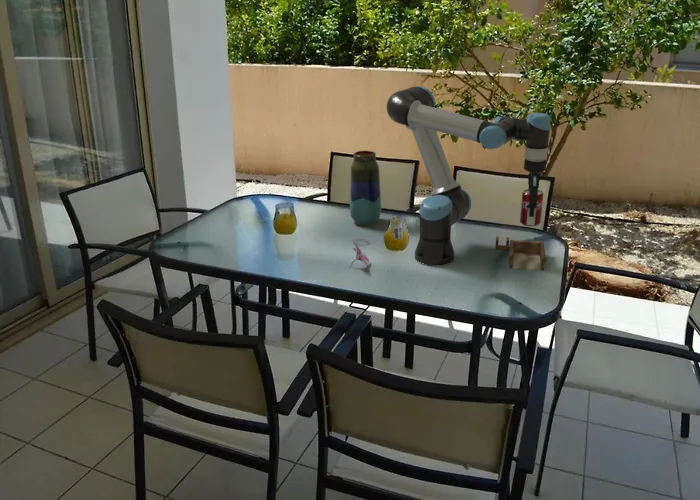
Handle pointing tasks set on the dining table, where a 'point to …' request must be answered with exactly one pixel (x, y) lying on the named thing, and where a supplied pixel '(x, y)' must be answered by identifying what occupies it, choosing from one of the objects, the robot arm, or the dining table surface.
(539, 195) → the soda can
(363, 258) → the lily
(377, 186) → the vase
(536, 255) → the end holder
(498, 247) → the clip
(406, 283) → the dining table surface
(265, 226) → the dining table surface
